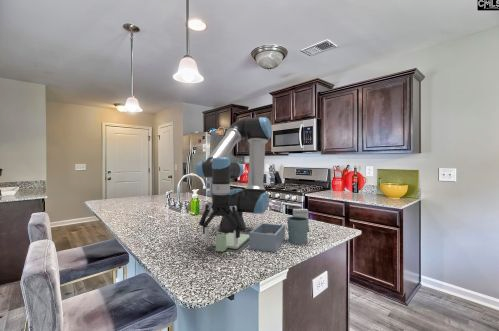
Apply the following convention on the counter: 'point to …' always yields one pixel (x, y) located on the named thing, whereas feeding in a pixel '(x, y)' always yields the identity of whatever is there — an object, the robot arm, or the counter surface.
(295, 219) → the teal cup
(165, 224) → the counter surface
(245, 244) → the mat
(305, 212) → the ink box
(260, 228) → the tub
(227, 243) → the lid
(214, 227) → the counter surface
